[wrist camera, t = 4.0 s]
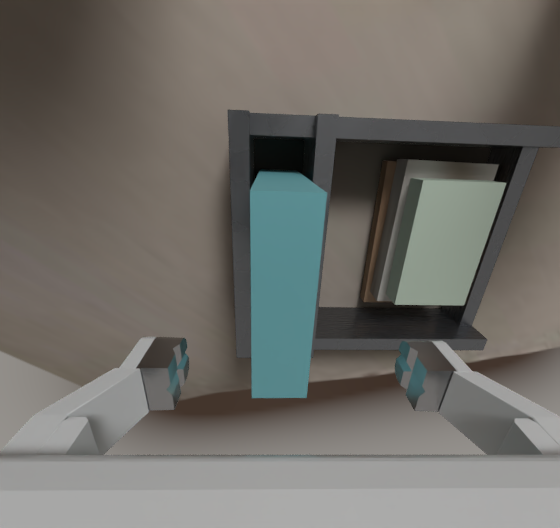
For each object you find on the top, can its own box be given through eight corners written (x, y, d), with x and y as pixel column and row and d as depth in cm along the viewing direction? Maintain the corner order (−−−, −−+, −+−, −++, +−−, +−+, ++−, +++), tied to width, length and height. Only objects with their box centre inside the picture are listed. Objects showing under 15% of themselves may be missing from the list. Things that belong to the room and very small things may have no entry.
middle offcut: (369, 291, 26) (376, 300, 24) (397, 158, 21) (408, 159, 20) (439, 293, 26) (451, 303, 25) (481, 163, 22) (499, 164, 20)
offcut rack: (243, 316, 28) (236, 357, 22) (238, 120, 21) (227, 109, 15) (448, 318, 29) (491, 358, 23) (510, 132, 22) (592, 125, 16)
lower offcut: (358, 293, 28) (363, 302, 26) (379, 160, 23) (387, 161, 21) (432, 293, 28) (442, 302, 27) (469, 163, 23) (484, 163, 22)
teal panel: (259, 286, 27) (251, 398, 15) (260, 168, 22) (250, 190, 10) (290, 286, 27) (306, 397, 15) (296, 170, 22) (327, 192, 10)
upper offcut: (386, 294, 24) (394, 304, 22) (410, 177, 20) (423, 180, 19) (450, 295, 24) (463, 305, 23) (487, 180, 20) (506, 182, 19)
